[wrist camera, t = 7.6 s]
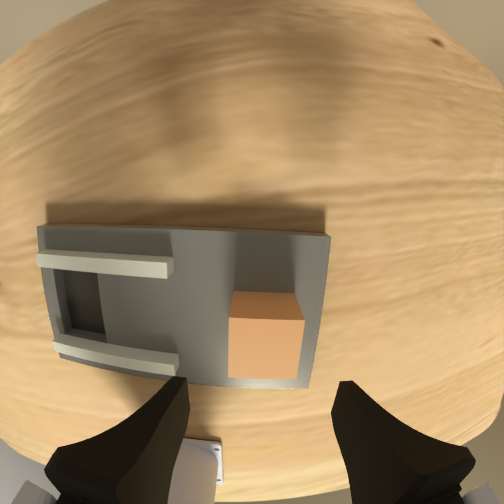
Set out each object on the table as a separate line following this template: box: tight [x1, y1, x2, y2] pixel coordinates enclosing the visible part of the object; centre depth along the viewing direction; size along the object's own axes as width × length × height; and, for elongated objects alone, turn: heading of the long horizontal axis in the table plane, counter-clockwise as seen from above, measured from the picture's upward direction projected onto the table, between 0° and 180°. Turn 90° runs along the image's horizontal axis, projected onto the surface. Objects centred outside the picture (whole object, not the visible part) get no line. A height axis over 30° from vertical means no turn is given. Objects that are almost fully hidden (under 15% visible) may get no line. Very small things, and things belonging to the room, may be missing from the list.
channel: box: [35, 224, 331, 389], centre depth 19 cm, size 12×22×3 cm, turn 87°
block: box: [228, 291, 305, 379], centre depth 17 cm, size 4×4×4 cm
